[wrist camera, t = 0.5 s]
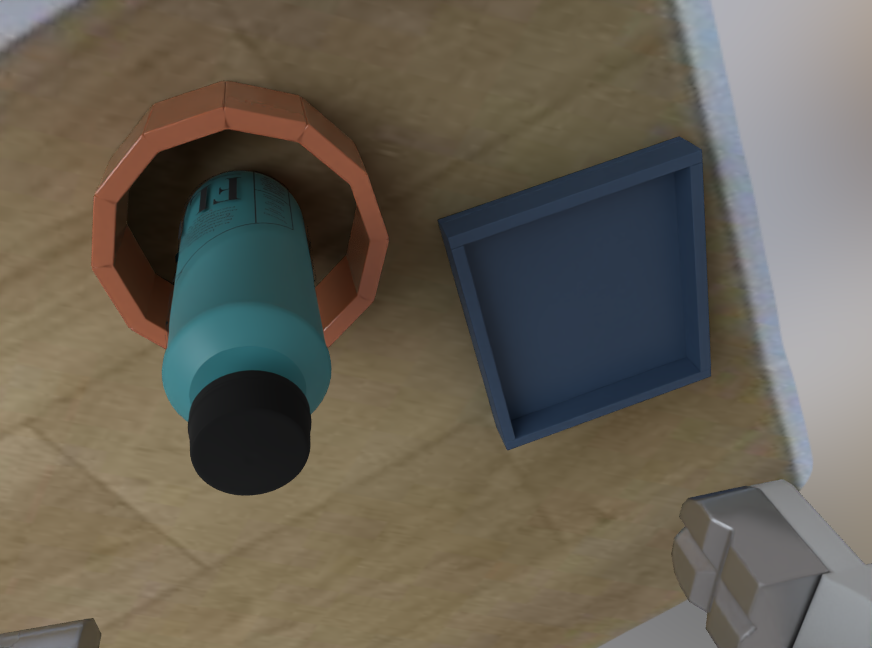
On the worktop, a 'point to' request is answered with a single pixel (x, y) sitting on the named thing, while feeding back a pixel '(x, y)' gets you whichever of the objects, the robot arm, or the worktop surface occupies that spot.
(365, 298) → the bowl
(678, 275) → the tray
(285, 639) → the worktop surface
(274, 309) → the beverage bottle
